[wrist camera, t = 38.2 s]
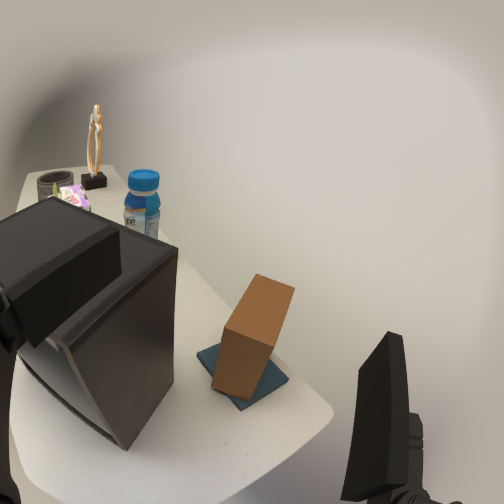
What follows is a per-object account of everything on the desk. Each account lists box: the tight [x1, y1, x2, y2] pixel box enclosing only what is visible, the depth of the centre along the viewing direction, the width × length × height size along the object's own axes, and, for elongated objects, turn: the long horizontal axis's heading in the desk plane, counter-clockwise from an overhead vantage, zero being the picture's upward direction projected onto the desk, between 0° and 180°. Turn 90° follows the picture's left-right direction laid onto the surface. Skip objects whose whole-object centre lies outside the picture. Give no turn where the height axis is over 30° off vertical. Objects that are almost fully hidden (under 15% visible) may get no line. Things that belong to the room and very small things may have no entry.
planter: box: [37, 171, 74, 202], centre depth 64 cm, size 12×12×13 cm
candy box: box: [59, 184, 91, 212], centre depth 50 cm, size 14×6×16 cm, turn 40°
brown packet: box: [211, 274, 295, 402], centre depth 38 cm, size 6×12×14 cm, turn 162°
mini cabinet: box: [0, 196, 178, 451], centre depth 27 cm, size 21×14×24 cm, turn 72°
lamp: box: [81, 105, 107, 190], centre depth 83 cm, size 17×9×32 cm, turn 45°
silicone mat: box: [197, 343, 289, 411], centre depth 42 cm, size 12×10×1 cm
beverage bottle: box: [124, 169, 160, 240], centre depth 57 cm, size 8×8×20 cm
